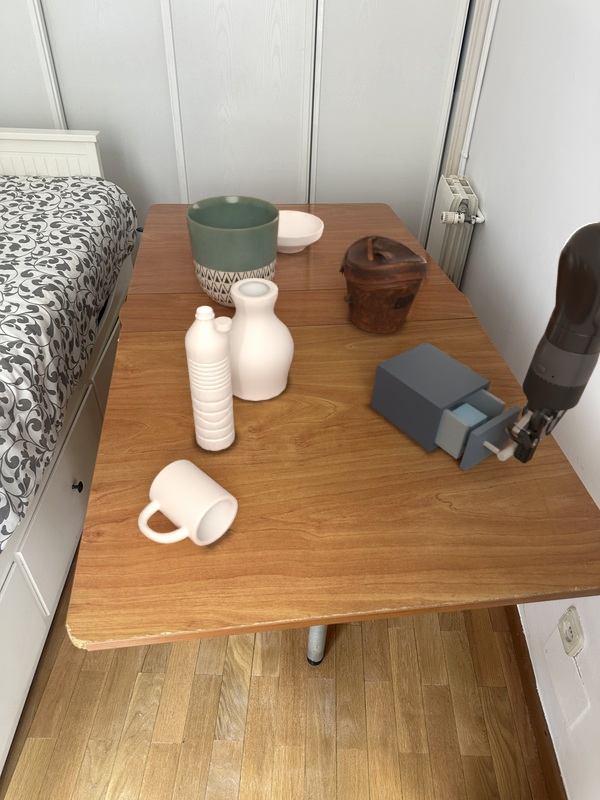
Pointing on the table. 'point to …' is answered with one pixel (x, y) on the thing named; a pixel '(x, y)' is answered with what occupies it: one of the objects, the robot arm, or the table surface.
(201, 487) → the mug
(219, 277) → the planter
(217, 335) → the water bottle
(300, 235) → the bowl
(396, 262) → the case
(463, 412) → the block
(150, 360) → the table surface
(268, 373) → the vase
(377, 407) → the cabinet
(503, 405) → the drawer
